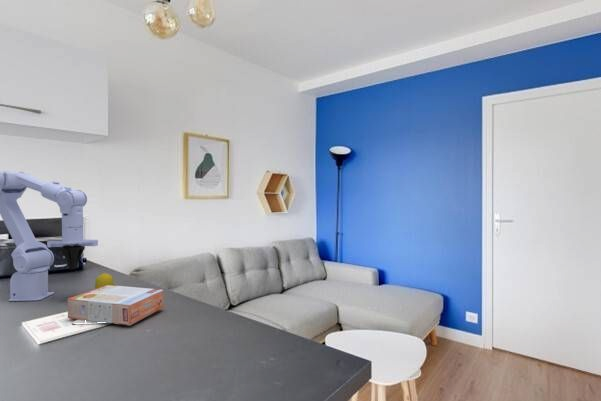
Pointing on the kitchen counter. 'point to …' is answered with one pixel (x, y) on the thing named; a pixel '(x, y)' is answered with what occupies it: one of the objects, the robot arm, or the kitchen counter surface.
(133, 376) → the kitchen counter surface
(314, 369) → the kitchen counter surface
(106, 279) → the lemon
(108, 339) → the kitchen counter surface
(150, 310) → the cracker box
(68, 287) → the kitchen counter surface
